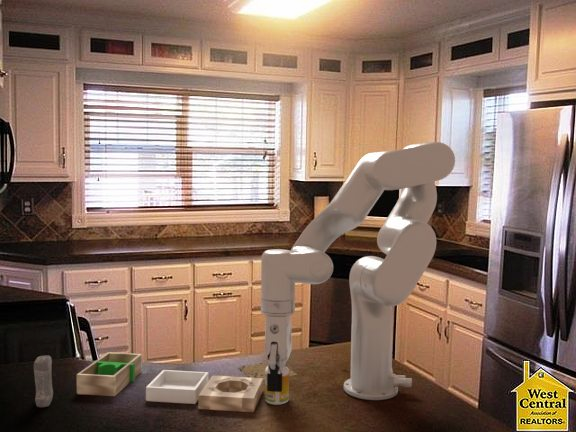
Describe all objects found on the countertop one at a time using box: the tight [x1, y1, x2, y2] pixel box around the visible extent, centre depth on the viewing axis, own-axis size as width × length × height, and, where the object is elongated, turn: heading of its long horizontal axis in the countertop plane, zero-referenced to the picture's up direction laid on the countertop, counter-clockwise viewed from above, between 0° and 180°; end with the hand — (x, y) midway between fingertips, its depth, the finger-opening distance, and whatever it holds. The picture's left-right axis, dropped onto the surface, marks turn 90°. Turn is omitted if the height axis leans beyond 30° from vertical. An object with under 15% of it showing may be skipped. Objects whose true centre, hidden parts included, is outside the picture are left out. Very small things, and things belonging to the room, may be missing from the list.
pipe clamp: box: [91, 360, 136, 383], centre depth 134 cm, size 10×4×4 cm, turn 81°
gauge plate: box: [197, 375, 264, 413], centre depth 124 cm, size 12×12×3 cm
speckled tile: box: [237, 362, 299, 382], centre depth 143 cm, size 12×12×1 cm
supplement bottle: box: [264, 357, 290, 406], centre depth 124 cm, size 5×5×10 cm
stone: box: [33, 354, 54, 408], centre depth 121 cm, size 3×6×10 cm, turn 13°
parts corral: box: [76, 351, 143, 397], centre depth 134 cm, size 9×16×4 cm, turn 173°
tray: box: [145, 369, 210, 405], centre depth 128 cm, size 11×11×3 cm
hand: (276, 384), depth 124 cm, fingers open, 6 cm apart
